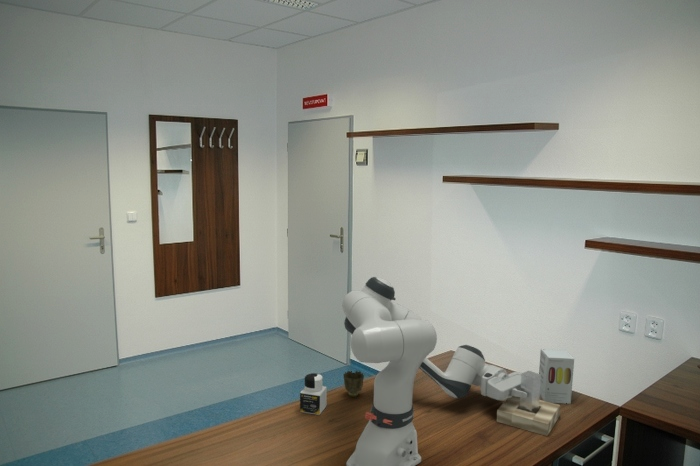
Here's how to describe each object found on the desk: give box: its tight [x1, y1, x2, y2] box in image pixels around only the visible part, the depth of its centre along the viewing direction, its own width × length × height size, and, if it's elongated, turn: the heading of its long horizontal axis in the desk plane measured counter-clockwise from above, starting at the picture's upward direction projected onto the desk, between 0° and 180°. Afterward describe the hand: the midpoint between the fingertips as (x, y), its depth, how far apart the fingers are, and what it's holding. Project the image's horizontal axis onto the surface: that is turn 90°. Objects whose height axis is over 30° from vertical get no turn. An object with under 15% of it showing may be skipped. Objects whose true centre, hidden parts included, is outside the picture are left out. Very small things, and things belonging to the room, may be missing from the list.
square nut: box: [496, 396, 561, 437], centre depth 174 cm, size 16×16×4 cm
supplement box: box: [538, 348, 575, 405], centre depth 189 cm, size 10×9×17 cm
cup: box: [343, 370, 365, 398], centre depth 189 cm, size 8×7×8 cm
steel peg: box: [519, 370, 541, 414], centre depth 173 cm, size 4×4×14 cm
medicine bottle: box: [299, 372, 328, 416], centre depth 178 cm, size 7×7×12 cm
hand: (532, 393), depth 172 cm, fingers closed on steel peg, 4 cm apart
